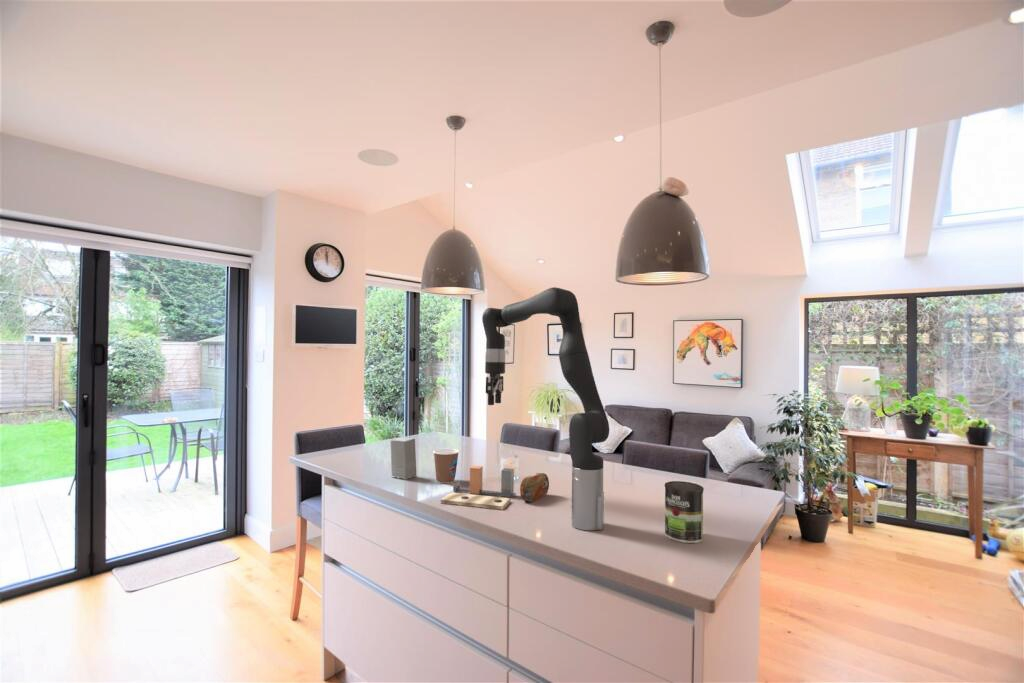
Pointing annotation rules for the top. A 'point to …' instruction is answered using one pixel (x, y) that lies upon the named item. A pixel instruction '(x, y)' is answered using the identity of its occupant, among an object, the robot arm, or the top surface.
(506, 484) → the dividers rail
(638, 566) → the top surface
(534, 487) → the brown rounded flat piece
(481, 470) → the block
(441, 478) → the coffee cup
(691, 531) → the coffee can
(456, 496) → the hole board
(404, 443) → the skincare box
